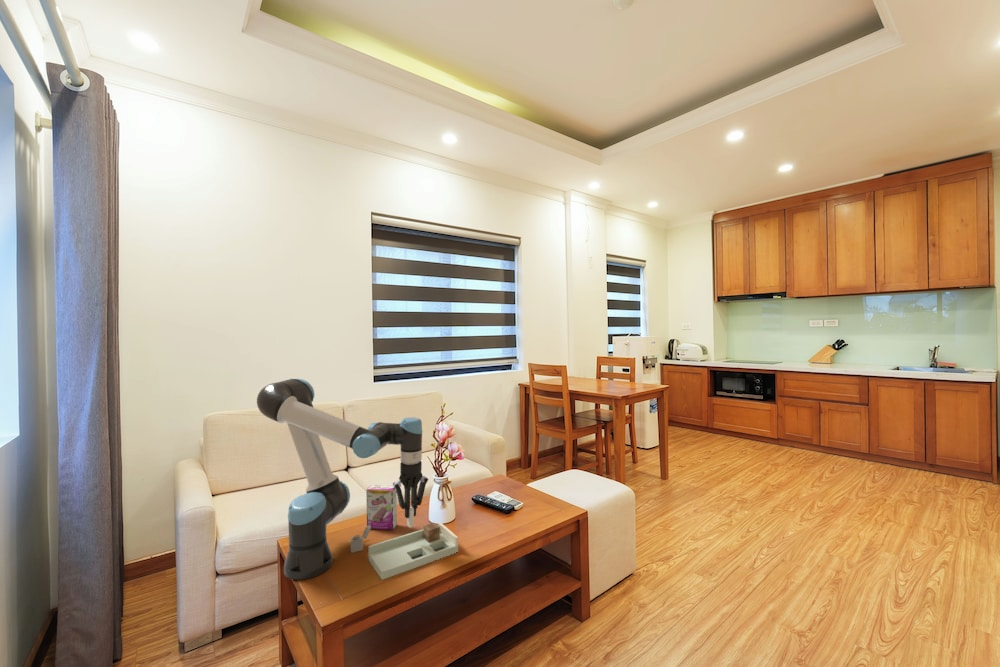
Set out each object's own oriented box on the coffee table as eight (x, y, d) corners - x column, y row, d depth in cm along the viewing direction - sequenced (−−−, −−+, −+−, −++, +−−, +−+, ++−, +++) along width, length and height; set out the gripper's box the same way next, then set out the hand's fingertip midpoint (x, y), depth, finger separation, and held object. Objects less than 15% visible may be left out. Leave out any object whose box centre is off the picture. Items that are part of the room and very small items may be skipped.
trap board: (382, 579, 136) (381, 563, 136) (368, 560, 148) (368, 544, 147) (458, 552, 152) (458, 537, 152) (440, 536, 163) (440, 522, 163)
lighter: (351, 552, 153) (350, 530, 152) (350, 550, 154) (350, 528, 154) (371, 547, 156) (371, 526, 156) (370, 545, 157) (370, 524, 157)
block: (428, 542, 154) (428, 530, 154) (423, 537, 158) (423, 525, 157) (439, 539, 156) (439, 527, 156) (434, 534, 160) (434, 522, 160)
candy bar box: (366, 529, 170) (365, 489, 169) (371, 523, 175) (370, 484, 174) (393, 530, 169) (392, 490, 168) (397, 524, 174) (396, 485, 173)
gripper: (397, 467, 146) (396, 534, 146) (432, 461, 153) (431, 525, 154) (390, 461, 152) (389, 525, 153) (423, 455, 159) (422, 517, 160)
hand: (410, 525), depth 153 cm, fingers closed
